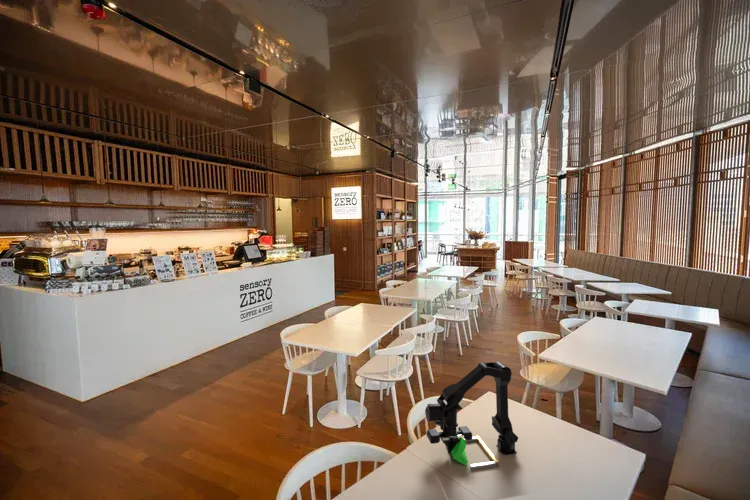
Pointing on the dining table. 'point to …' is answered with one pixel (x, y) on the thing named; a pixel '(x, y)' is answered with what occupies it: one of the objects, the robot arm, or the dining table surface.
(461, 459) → the mechanical part
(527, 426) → the dining table surface
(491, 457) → the u-shaped frame
